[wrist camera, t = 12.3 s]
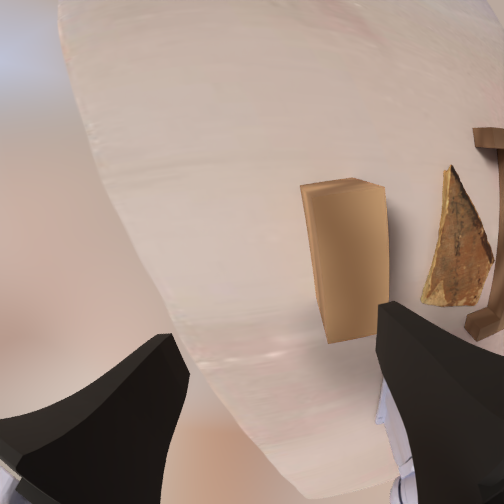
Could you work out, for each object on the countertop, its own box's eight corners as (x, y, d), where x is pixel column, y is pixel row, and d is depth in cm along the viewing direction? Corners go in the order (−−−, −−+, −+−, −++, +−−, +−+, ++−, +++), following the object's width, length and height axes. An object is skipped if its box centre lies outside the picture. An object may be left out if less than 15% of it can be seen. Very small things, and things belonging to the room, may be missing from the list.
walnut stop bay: (496, 314, 18) (508, 326, 16) (464, 327, 19) (476, 341, 17) (506, 131, 13) (525, 132, 10) (472, 127, 13) (492, 127, 11)
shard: (440, 162, 15) (453, 164, 14) (499, 183, 15) (512, 186, 13) (413, 297, 19) (422, 308, 17) (473, 297, 19) (483, 306, 17)
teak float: (352, 177, 16) (384, 186, 11) (361, 288, 19) (386, 331, 13) (299, 185, 17) (311, 197, 11) (316, 296, 19) (328, 344, 14)
